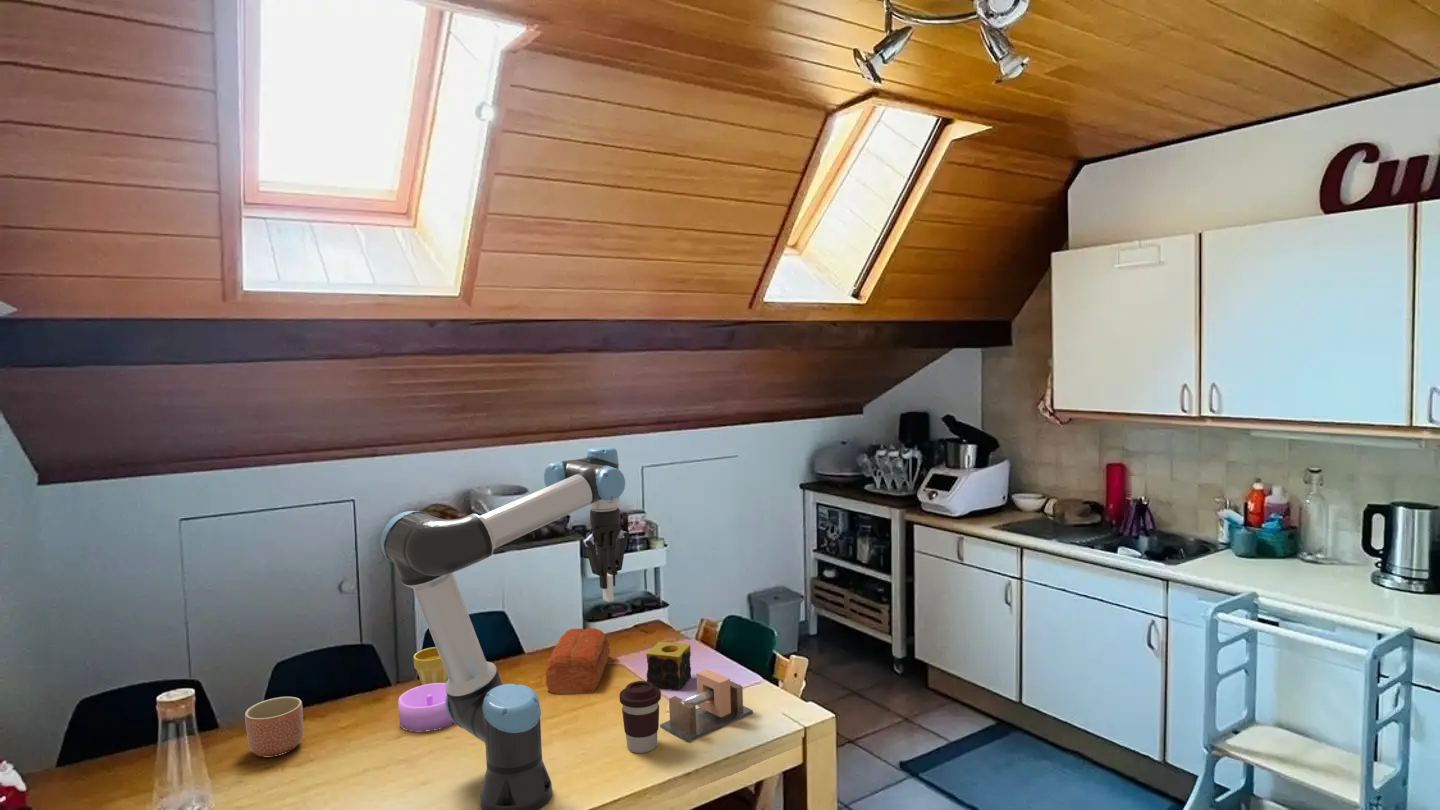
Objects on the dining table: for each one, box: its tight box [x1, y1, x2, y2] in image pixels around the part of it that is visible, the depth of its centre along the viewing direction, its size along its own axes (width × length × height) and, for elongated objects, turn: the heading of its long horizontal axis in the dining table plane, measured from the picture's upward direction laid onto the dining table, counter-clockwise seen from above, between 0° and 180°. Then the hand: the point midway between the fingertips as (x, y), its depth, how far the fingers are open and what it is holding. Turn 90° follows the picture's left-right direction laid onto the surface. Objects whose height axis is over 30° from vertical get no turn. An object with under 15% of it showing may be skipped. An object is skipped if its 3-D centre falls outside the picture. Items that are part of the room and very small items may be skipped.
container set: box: [397, 683, 455, 731], centre depth 220 cm, size 25×15×13 cm, turn 106°
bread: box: [545, 627, 611, 695], centre depth 244 cm, size 16×27×11 cm, turn 179°
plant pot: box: [413, 646, 449, 685], centre depth 239 cm, size 10×10×10 cm
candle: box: [645, 641, 692, 692], centre depth 237 cm, size 10×10×10 cm
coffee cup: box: [618, 680, 662, 754], centre depth 200 cm, size 10×10×15 cm
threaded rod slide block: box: [659, 680, 754, 743], centre depth 213 cm, size 22×11×8 cm, turn 132°
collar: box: [696, 668, 731, 717], centre depth 214 cm, size 4×9×9 cm, turn 42°
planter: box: [244, 696, 304, 757], centre depth 203 cm, size 12×12×11 cm
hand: (608, 599), depth 211 cm, fingers closed
